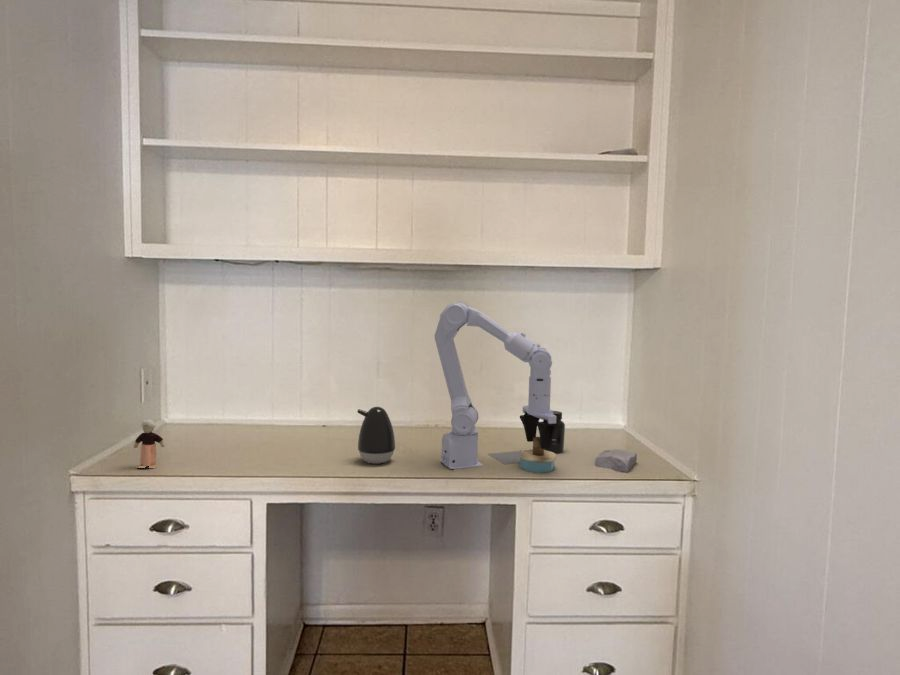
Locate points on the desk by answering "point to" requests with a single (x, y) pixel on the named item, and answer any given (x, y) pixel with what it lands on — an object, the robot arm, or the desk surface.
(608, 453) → the stone block
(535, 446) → the lid
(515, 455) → the mat
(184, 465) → the desk surface
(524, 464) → the bowl
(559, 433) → the supplement bottle
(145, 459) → the grandmother figurine
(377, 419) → the pump dispenser
